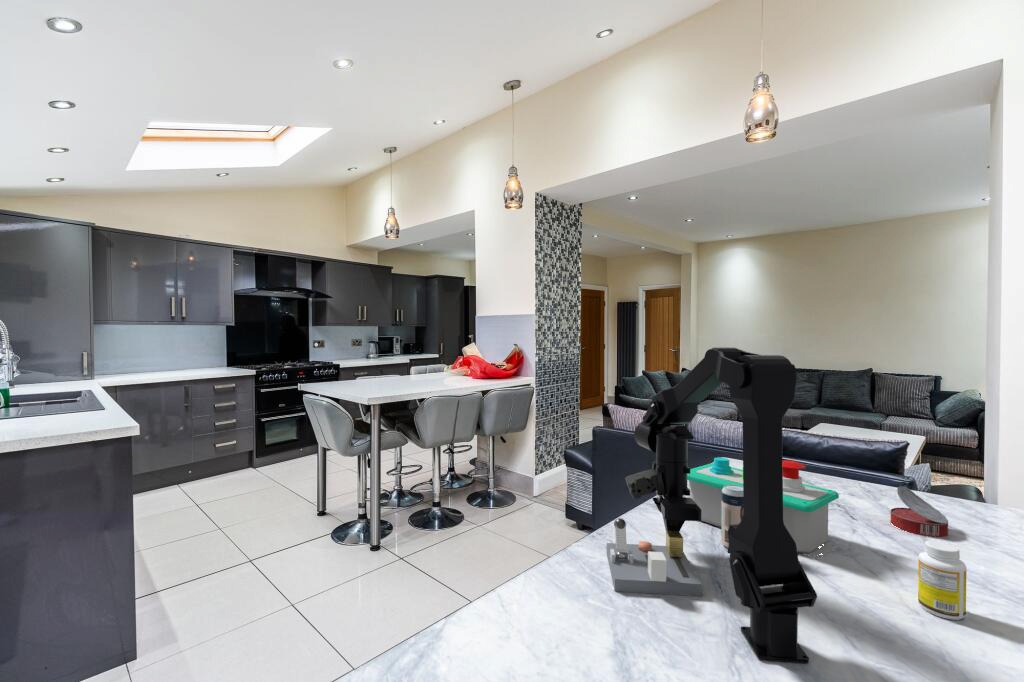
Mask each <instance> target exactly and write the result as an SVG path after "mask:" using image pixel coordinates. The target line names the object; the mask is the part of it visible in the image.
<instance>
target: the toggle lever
mask: <svg viewBox="0 0 1024 682" xmlns="http://www.w3.org/2000/svg"><path fill="white" fill-rule="evenodd" d="M613 525H614V526H613V527H614V538H615V543H616V550H627V544H628V543H627V523H626V521H625V519H623V518H621V517H619V518H616V519H615V520H614V523H613ZM616 559H624V560H628V553H627V552H616Z"/></svg>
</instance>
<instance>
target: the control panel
mask: <svg viewBox="0 0 1024 682" xmlns="http://www.w3.org/2000/svg"><path fill="white" fill-rule="evenodd" d="M806 467H807V466H806V465H805V464H802V463H801V462H797V461H795V460H790V459H783V521H784V525H785V526H786V528H787V529H788V531H789V533H790V534H791V536H792V537H793V539H794V541H795V542H796V546H797V553H798V552H799V554H801V553H802V555H804V554H806V555H805V556H807V555H809V556H808V557H810V556H811V558H813V557H815V558H814V559H818V558H820V559H821V557H822V556H823V557H825V556H826V555H828V554H829V553H831V552H833V549H834V550H835V549H837V548H838V545H837V544H835V543H833V542H830V541H829V542H828V540H829V504H830V503H833V501H835V500H837V499H839V498H840V496H839V492H838V491H836V490H832V489H829V488H824V487H819V486H815V485H812V484H806V483H803V478H802V477H801V476H800V469H806ZM687 481H688V488H689V489H690V496H688V498H692V499H693V501H694V502H695V503H696V504H697V505H698V506H699V507H700V508H701V521H700V522H704V523H707V524H710V525H713V526H716V527H718V528H721V508H722V489H723V487H724V486H725V485H738V486H741V487H743V469H741V468H737V467H733V466H731V465H730V459H729V458H726V457H720V456H719V457H714V458H713V462H711V463H707V464H705V465H701V466H697V467H694V468H690V474H687ZM822 544H824V546H823V545H822ZM833 545H834V546H833ZM819 546H822V547H821V548H820V549H819V548H818V547H819ZM830 551H831V552H830ZM821 553H822V554H823V555H819V554H821ZM827 553H828V554H827ZM825 554H826V555H825ZM816 555H818V556H816ZM824 555H825V556H824ZM823 557H822V558H823Z"/></svg>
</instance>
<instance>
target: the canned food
mask: <svg viewBox="0 0 1024 682" xmlns="http://www.w3.org/2000/svg"><path fill="white" fill-rule="evenodd" d="M896 489H897V490H896V491H897V495H898V497H899V499H900V500H901V502H902V503H903V504H904V505H905V506H906V507H894V508H891V509H890V524H891V523H892V524H893V525H894V526H896V527H898V528H900V529H902V530H904V531H903V532H905V531H907V532H906V533H909V534H912V533H913V534H914V535H916V536H921V537H927V536H928V537H929V538H945V537H947V536H949V519H947V517H946V515H944V514H942V513H941V511H940V510H938V509H937V508H935V507H933V505H931V504H930V503H928V502H927V501H925V500H924V499H923V498H922V497H920V496H919V495H917V494H916V493H915V492H914V491H912V490H911V489H910V488H908V487H907V486H902V485H899V486H898V487H897V488H896ZM894 526H893V527H894ZM896 527H895V528H896ZM898 528H897V529H898ZM900 529H899V530H900ZM902 530H901V531H902Z"/></svg>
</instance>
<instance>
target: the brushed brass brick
mask: <svg viewBox="0 0 1024 682" xmlns="http://www.w3.org/2000/svg"><path fill="white" fill-rule="evenodd" d="M665 546H666V550H667V552H668V554H669V556H670V557H683V552H684V536H683V535H682V533H681V532H680V531H666V530H665Z"/></svg>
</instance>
